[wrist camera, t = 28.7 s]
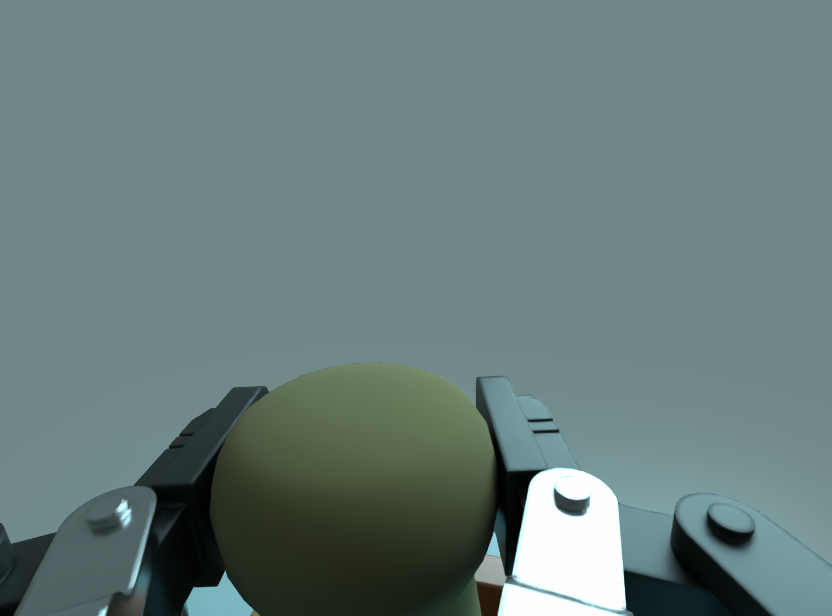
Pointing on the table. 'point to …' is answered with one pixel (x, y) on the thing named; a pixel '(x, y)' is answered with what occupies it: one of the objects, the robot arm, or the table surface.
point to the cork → (357, 496)
